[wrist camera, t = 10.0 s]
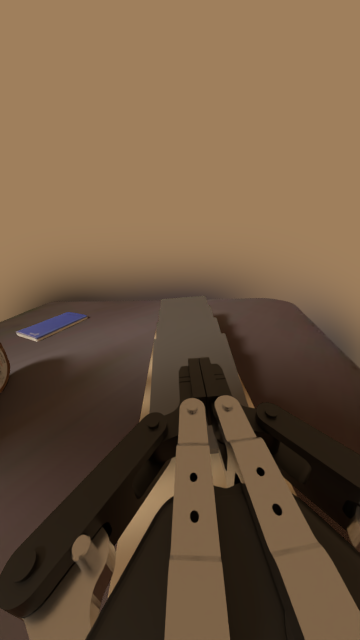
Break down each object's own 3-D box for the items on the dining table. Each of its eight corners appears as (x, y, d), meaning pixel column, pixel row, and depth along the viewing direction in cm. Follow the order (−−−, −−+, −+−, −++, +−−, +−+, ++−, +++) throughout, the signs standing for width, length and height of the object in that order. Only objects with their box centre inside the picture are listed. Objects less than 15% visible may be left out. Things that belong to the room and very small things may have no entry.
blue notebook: (35, 337, 38) (87, 314, 48) (15, 331, 41) (67, 311, 51) (38, 344, 39) (88, 320, 48) (18, 337, 42) (68, 316, 52)
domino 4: (261, 444, 15) (225, 333, 23) (146, 454, 14) (153, 339, 23) (256, 449, 16) (223, 341, 24) (150, 458, 16) (155, 346, 24)
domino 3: (239, 395, 19) (216, 317, 28) (152, 402, 19) (156, 322, 28) (237, 401, 20) (215, 324, 29) (155, 408, 20) (158, 329, 29)
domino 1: (217, 341, 29) (205, 295, 37) (159, 346, 29) (160, 299, 37) (216, 348, 30) (205, 301, 38) (160, 352, 30) (161, 305, 38)
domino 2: (226, 363, 24) (210, 305, 33) (156, 369, 24) (159, 309, 32) (224, 370, 25) (209, 311, 34) (158, 375, 25) (160, 315, 34)
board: (331, 582, 10) (336, 577, 10) (111, 601, 10) (107, 597, 10) (215, 329, 37) (215, 326, 37) (156, 334, 37) (155, 330, 37)
